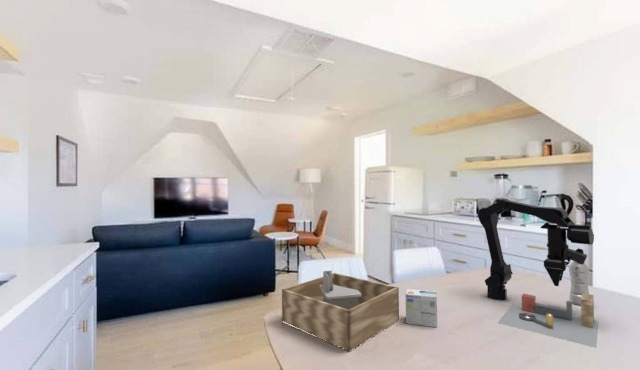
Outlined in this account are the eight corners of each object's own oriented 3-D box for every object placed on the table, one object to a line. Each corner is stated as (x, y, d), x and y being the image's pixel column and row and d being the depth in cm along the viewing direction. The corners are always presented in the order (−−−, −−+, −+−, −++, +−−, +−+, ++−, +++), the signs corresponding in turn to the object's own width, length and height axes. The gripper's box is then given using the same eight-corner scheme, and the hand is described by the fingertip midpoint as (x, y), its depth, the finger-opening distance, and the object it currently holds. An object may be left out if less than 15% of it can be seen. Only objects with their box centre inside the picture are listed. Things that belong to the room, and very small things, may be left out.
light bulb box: (437, 320, 115) (436, 290, 115) (437, 328, 108) (437, 296, 108) (406, 316, 118) (406, 287, 118) (405, 324, 112) (405, 293, 112)
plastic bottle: (594, 308, 123) (593, 258, 124) (575, 307, 125) (574, 257, 125) (584, 303, 130) (583, 254, 130) (565, 302, 131) (564, 254, 131)
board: (497, 325, 110) (497, 322, 110) (513, 305, 128) (513, 303, 128) (596, 350, 92) (596, 347, 92) (598, 323, 110) (598, 321, 110)
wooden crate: (282, 322, 114) (281, 289, 114) (334, 300, 135) (334, 272, 136) (349, 351, 93) (349, 311, 93) (398, 320, 115) (398, 287, 115)
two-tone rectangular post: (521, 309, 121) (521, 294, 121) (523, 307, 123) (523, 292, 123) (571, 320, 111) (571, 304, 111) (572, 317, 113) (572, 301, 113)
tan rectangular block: (581, 325, 107) (580, 299, 107) (582, 318, 113) (582, 293, 113) (593, 328, 105) (592, 301, 105) (593, 320, 111) (593, 295, 111)
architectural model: (314, 343, 99) (314, 286, 99) (303, 314, 123) (303, 267, 123) (382, 336, 104) (382, 281, 104) (359, 309, 127) (359, 264, 127)
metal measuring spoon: (547, 329, 104) (547, 316, 104) (515, 316, 115) (515, 304, 115) (557, 327, 106) (557, 314, 106) (525, 314, 116) (525, 302, 117)
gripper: (583, 247, 105) (584, 293, 105) (586, 240, 119) (587, 281, 119) (542, 243, 113) (544, 287, 113) (550, 237, 127) (551, 276, 126)
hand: (558, 283), depth 117 cm, fingers open, 9 cm apart
